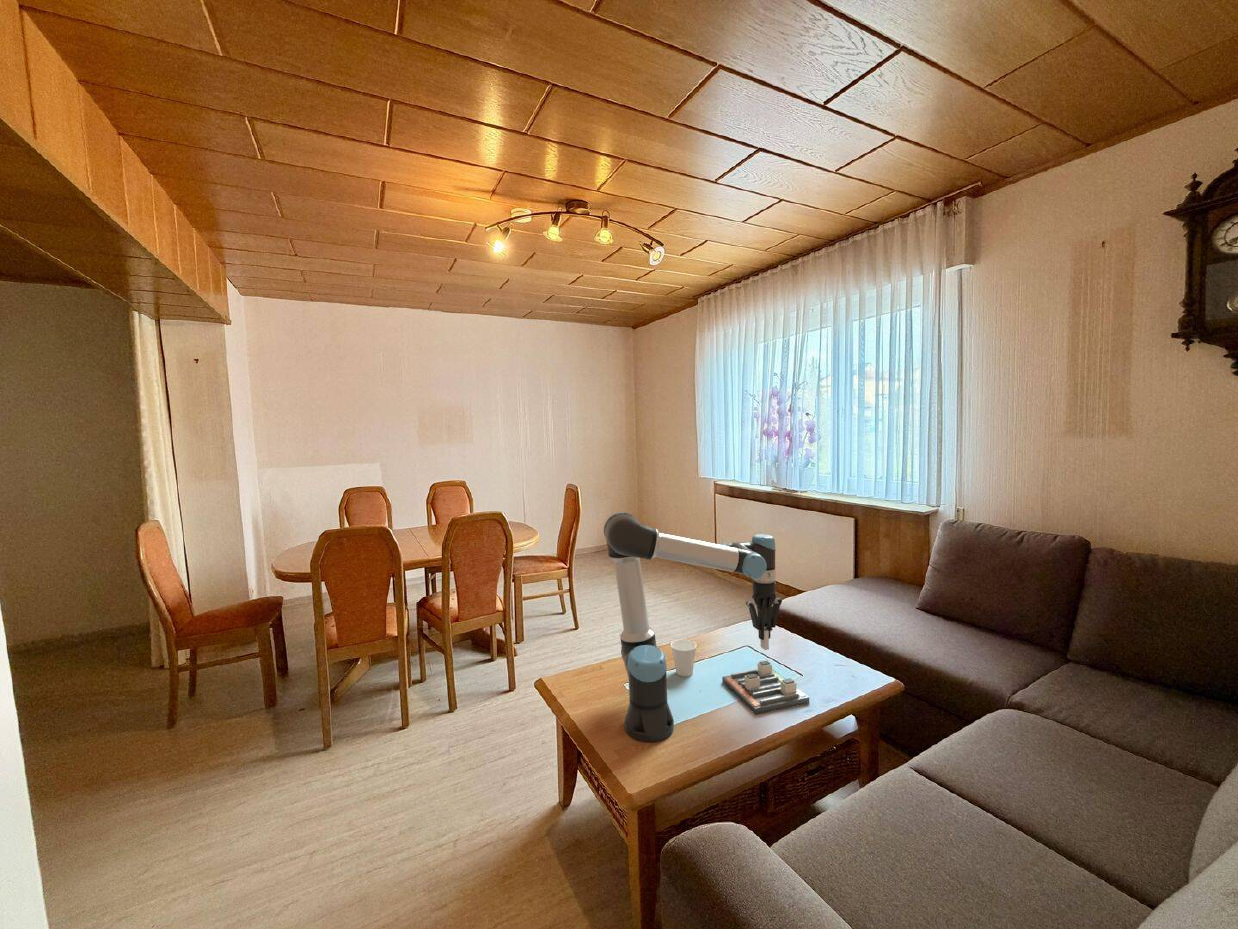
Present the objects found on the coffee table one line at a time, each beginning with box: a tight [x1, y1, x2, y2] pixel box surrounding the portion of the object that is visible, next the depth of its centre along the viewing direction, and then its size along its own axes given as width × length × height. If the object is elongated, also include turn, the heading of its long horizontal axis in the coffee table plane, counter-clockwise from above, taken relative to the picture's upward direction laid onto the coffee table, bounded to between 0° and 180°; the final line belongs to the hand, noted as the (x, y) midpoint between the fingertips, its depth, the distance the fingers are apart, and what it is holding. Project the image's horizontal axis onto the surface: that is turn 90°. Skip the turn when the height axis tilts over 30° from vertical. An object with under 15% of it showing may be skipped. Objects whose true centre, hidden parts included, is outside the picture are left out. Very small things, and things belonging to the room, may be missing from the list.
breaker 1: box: [745, 674, 760, 690], centre depth 166 cm, size 4×3×4 cm
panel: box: [721, 668, 810, 716], centre depth 167 cm, size 20×22×3 cm
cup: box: [670, 639, 698, 678], centre depth 183 cm, size 10×10×11 cm
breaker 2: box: [757, 660, 773, 676], centre depth 175 cm, size 4×3×4 cm
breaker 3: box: [781, 677, 798, 695], centre depth 162 cm, size 4×3×4 cm
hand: (764, 648), depth 167 cm, fingers closed
